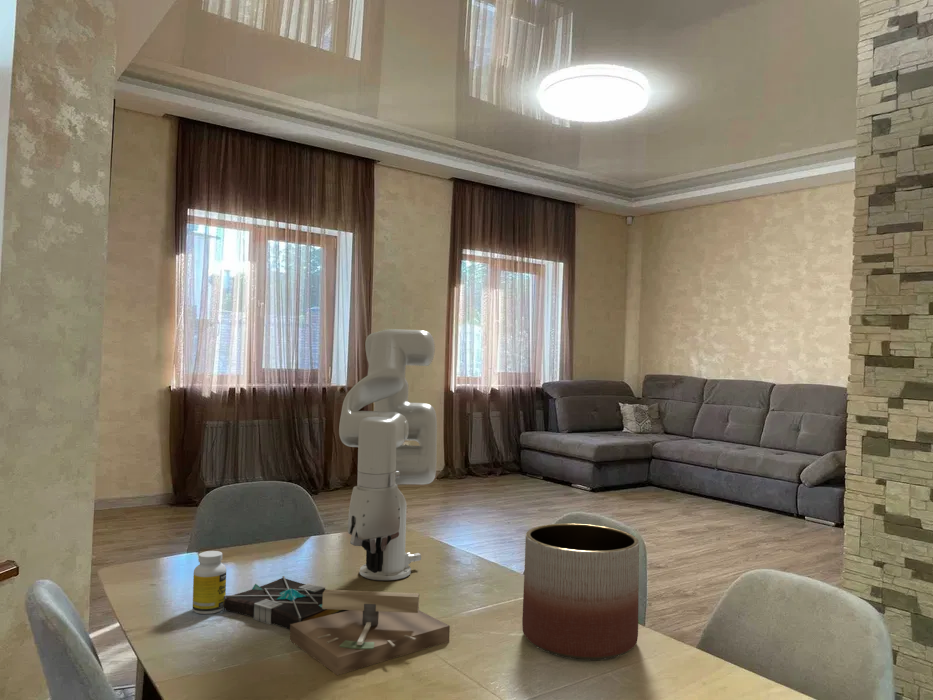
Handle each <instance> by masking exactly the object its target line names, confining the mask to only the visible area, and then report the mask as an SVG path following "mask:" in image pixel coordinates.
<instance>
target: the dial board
mask: <svg viewBox="0 0 933 700" xmlns="http://www.w3.org/2000/svg"><path fill="white" fill-rule="evenodd" d="M362 619H363V611H358V610H348V611H344V612H340V613H335V614H331V615H327V616H323V617H319V618H315V619H310V620H306V621H302V622H298V623H294V624H290V629H289V641H290V642H291V643H292V644H294V645H295V646H297V647H298V648H300V649H301V650H302V651H304V652H305V653H306V654H307V655H309V656H310V657H312V658H313V659H314V660H315V661H318V662H319V663H320V664H321V665H323V666H324V667H325V668H327V669H329V671H331V672H333V673H334V674H335V675H336V676H340V675H343V674H345V673H346V674H347V673H350V672H352V671H353V672H354V671H356V670H359V669H362V668H365V667H366V668H367V667H368V666H372V665H376V664H379V662H380V663H383V662H386V661H389V660H392V659H396V658H400V657H402V656H405V655H410V654H413V653H416V652H419V651H423V650H426V649H429V648H432V647H436V646H439V645H442V644H445V643H449V642H450V627H451V626H450V625H449V624H447V623H445V622H443V621H441V620H439V619H437V618H435V617H434V616H431V615H429V614H427V613H426V612H423V611H421V610H420V609H419V610H418V613H404V612H381V611H379V618H378V625H376V626H371V627H370V629H369V631H368V633H367V635H366V637H365V639H364V642H363V644H362V645H357V641H358V639H359V637H360V635H361V633H362V631H363V629H364V627H365V626H364V625H363V624H362ZM349 671H350V672H349ZM339 674H340V675H339Z"/></svg>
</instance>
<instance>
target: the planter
mask: <svg viewBox="0 0 933 700" xmlns="http://www.w3.org/2000/svg"><path fill="white" fill-rule="evenodd" d="M524 544H525V546H524V572H523V574H524V576H523V595H522V597H523V599H522V600H523V601H522V626H521V627H522V633H523V635H524V637H525V638H526V639H527V641H529V642H530V643H531V644H533V645H534V646H535V647H537V648H538V649H540V650H542V651H544V652H546V653H548V654H551V655H554V656H557V657H561V658H565V659H566V658H567V659H571V660H577V661H578V660H581V661H597V660H598V661H601V660H608V659H613V658H617V657H620V656H621V655H624V654H626V653H628V652H630V651H631V650H632V649H634V648H635V647H636V646H637V642H638V637H639V592H640V591H639V588H640V587H639V577H640V575H639V574H640V573H639V572H640V569H639V568H640V541H639V539H638V537H637V536H635V535H633V534H631V533H630V532H626V531H625V530H621V529H617V528H613V527H610V526H603V525H597V524H587V523H571V522H570V523H550V524H543V525H538V526H536V527H532V528H530V529H529V530H527V531H526V532H525V543H524Z"/></svg>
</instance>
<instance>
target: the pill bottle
mask: <svg viewBox="0 0 933 700" xmlns="http://www.w3.org/2000/svg"><path fill="white" fill-rule="evenodd" d="M222 561H223V552H221V551H219V550H207V551H203V552H200V553H199V554H198V563H199V564H198V565H197V566H196V567H195V568H194V570H193V581H192V582H193V583H192V585H193V586H192V610H193V612H195V613H196V614H201V615H211V614H216V613H219V612H221V611H223V608H224V595H227V593H226V592H227V588H226V587H227V567H226V565H225V564H223V562H222Z"/></svg>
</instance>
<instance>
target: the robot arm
mask: <svg viewBox="0 0 933 700" xmlns="http://www.w3.org/2000/svg"><path fill="white" fill-rule="evenodd" d="M435 345H436V344H435V340H434V337H433V335H432V334H431V332H429V331H427V330H422V329H399V328H398V329H395V328H389V329H383V330H380V331H375V332H372V333H369V335H367V336H366V340H365V347H364V348H365V353H366V354H365V355H366V361H367V364H368V369H367V375H366V376H365V377H363V378H362V379H360V380H359V381H358V382H357V383H355V385H354V386H352V387H351V389H350V390H348V392H347V393H346V396H345V397H344V399H343V402H342V406H341V413H340V419H339V424H338V425H339V428H338V435H339V439H340V441H341V443H342V444H344V445H345V446H346V447H349V448H350V447H351V448H358V449H357V479H356V481H357V485H355V486H353V487H352V490H351V491H352V492H351V496H350V501H349V507H348V515H347V516H348V518H347V533H348V535H349V536H350V535H351V537H350V544H351V545H353V546H354V547H362V548H363V549H364V551H365V554H366V555H365V557H366V558H365V563H364V564H363V565H361V566H360V568H359V575H360V576H361V577H363V578H365V579H368V580H374V581H396V580H401V579H405V578H407V577H409V575H411V573H412V567H411V566H410V565H409V564H411V563H412V562H414V563H415V562H419V561H421V560H422V555H421V553H420V552H416V553H415V552H414V553H412V554H411V552H409V551H408V552H406V535H407V533H406V532H407V529H406V528H407V527H406V526H407V500H406V498H405V496H404V494H403V493H402V491H401V490H400V489H399V486H398V485H429V484H431V483H432V482H434V480H435V478H436V474H437V463H438V462H437V455H438V454H437V452H438V451H437V450H438V447H437V446H438V444H437V443H438V418H437V411H436V410H435V407H434V406H433V405H431V404H430V403H426V402H409V390H410V389H409V387H410V386H409V383H408V380H407V378H406V369H407V368H406V367H407V366H417V367H418V366H419V367H420V366H421V367H423V366H424V367H429V366H430V365H431V364H432V362H433V360H434V358H435V350H436V349H435V347H436V346H435ZM372 403H373V405H374V408H373V410H361V409H363V408H365V407H366V406H368V405H370V404H372ZM405 441H415V442H417V443H418V445H412V444H411V445H406V444H404V443H405ZM403 444H404V445H403Z"/></svg>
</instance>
